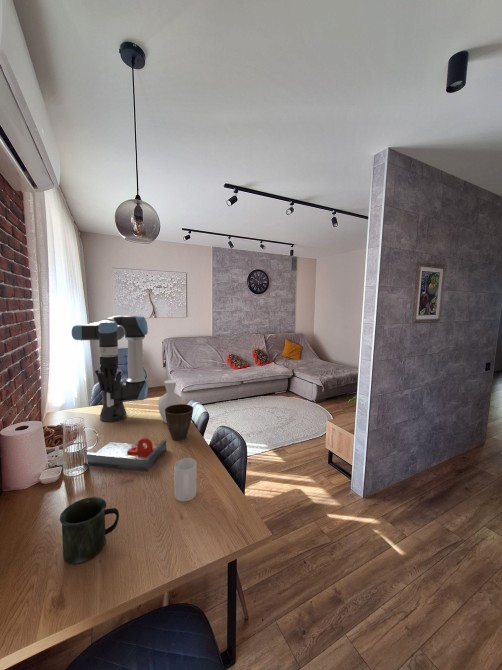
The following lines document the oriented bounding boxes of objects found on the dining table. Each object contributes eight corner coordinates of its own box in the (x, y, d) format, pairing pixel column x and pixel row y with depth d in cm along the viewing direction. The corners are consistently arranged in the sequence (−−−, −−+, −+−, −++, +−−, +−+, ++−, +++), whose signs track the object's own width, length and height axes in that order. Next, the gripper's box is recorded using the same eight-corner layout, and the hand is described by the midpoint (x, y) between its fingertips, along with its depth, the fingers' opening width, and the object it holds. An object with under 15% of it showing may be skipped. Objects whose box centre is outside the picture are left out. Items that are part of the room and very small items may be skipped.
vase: (172, 414, 178) (172, 377, 176) (187, 420, 170) (187, 381, 168) (153, 421, 166) (153, 381, 164) (168, 427, 158) (168, 386, 156)
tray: (110, 444, 137) (109, 435, 136) (166, 450, 133) (166, 440, 132) (83, 464, 119) (83, 453, 119) (147, 471, 115) (147, 460, 115)
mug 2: (173, 511, 92) (173, 478, 91) (173, 489, 104) (173, 459, 103) (198, 507, 95) (198, 474, 94) (195, 485, 106) (195, 456, 105)
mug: (65, 541, 80) (63, 503, 79) (119, 525, 86) (119, 489, 85) (57, 573, 70) (55, 530, 69) (119, 552, 76) (118, 513, 75)
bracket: (156, 451, 129) (155, 435, 128) (151, 455, 124) (151, 439, 124) (132, 448, 131) (132, 433, 130) (127, 453, 126) (126, 437, 125)
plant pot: (191, 429, 156) (191, 403, 155) (194, 441, 142) (194, 412, 140) (164, 433, 151) (164, 405, 150) (165, 445, 137) (164, 415, 136)
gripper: (90, 356, 120) (91, 407, 122) (117, 357, 118) (118, 409, 120) (101, 353, 127) (102, 402, 130) (127, 354, 126) (128, 403, 128)
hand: (110, 405), depth 125 cm, fingers closed
